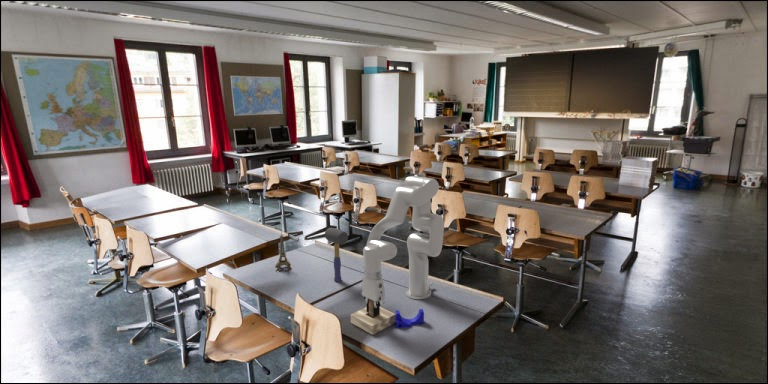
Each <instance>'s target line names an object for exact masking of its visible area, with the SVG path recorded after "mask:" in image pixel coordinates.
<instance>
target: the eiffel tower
mask: <svg viewBox="0 0 768 384" xmlns="http://www.w3.org/2000/svg"><path fill="white" fill-rule="evenodd" d="M280 234H281V235H279V238H280V246H279V247H280V249H279V250H280V252H279V255H278V256H279V258H278V259H277V260H278V261H277V262H276V264H275V265H274V268H276V269H275V273H278V272H277V271H279V272H280V270H281V267H282V266H286V267H287V269H288V271H292V270H293V268H292V267H291V265H292V264H291V262H290V261H289V260H288V258H287V253H286V250H285V245H284V235H283V234H282V231H280Z"/></svg>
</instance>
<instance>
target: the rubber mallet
mask: <svg viewBox="0 0 768 384" xmlns="http://www.w3.org/2000/svg"><path fill="white" fill-rule="evenodd" d="M324 238H325V239H326V240H327V241H328V242H329V241H330V242H331V243H334V248H333V249H334V258H333V269H334V277H333V281H334V282H335V283H340V282H341V281H342V276H341V275H342V273H341V270H342V269H341V266H342V264H341V263H342V262H341V257H340V256H341V255H340V245H341V246H342V245H346V243H347V242H348V239H349V235H348V233H347V232H346V231H344V230H342V229H339V228H335V227H328V228H327V229H326V230H325V231H324Z"/></svg>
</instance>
